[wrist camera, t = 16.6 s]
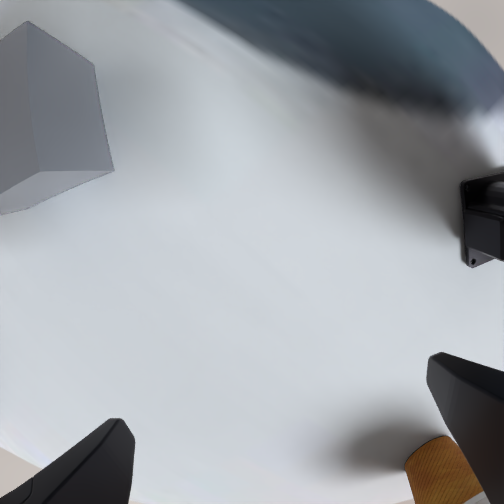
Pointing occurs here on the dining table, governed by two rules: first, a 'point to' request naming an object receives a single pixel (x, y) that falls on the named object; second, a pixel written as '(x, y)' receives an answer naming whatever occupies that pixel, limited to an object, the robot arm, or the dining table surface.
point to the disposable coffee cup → (443, 475)
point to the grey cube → (47, 120)
